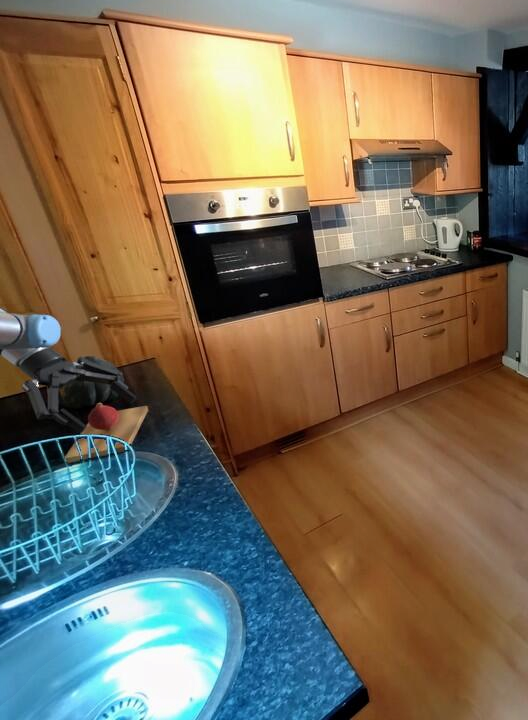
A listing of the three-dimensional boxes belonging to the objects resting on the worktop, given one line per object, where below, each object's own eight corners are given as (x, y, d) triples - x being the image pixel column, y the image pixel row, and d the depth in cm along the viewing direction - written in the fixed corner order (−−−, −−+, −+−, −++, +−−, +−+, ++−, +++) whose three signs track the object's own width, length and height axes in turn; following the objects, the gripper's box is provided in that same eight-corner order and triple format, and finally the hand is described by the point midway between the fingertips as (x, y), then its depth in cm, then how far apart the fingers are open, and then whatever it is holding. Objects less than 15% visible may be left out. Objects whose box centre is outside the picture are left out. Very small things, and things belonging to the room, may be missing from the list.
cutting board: (66, 463, 108) (63, 458, 107) (95, 419, 124) (93, 414, 123) (128, 450, 112) (126, 445, 112) (148, 409, 129) (146, 405, 128)
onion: (103, 438, 114) (91, 412, 111) (88, 433, 116) (77, 407, 113) (128, 426, 119) (117, 400, 116) (113, 421, 121) (103, 395, 118)
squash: (37, 389, 127) (44, 360, 120) (98, 368, 140) (108, 340, 133) (71, 426, 127) (80, 399, 120) (129, 402, 141) (140, 375, 133)
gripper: (80, 345, 124) (146, 397, 128) (-32, 391, 101) (53, 452, 105) (90, 329, 121) (157, 382, 125) (-22, 372, 98) (64, 436, 102)
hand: (110, 414), depth 115 cm, fingers open, 13 cm apart
